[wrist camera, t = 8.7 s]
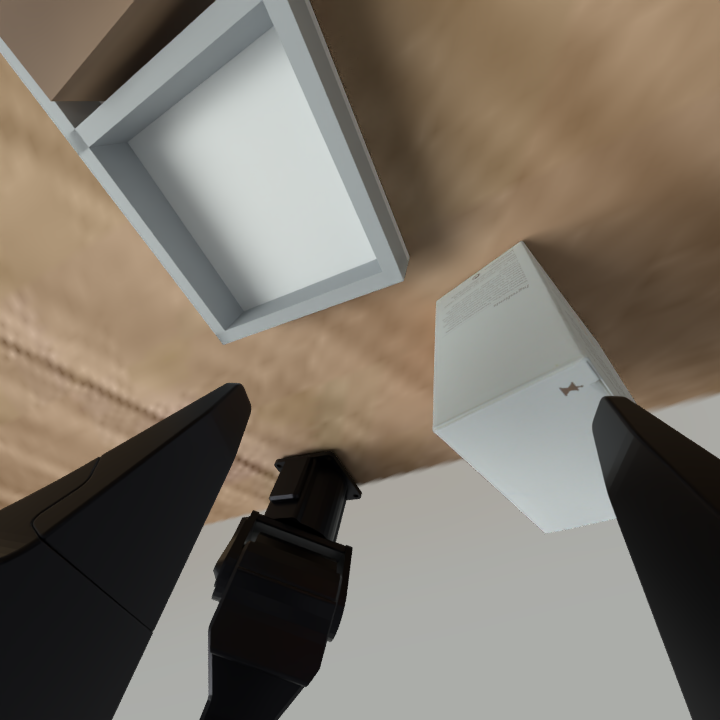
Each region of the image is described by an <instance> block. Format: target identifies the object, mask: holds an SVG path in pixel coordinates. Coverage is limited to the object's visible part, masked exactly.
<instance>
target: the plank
mask: <svg viewBox="0 0 720 720" xmlns="http://www.w3.org/2000/svg"><path fill="white" fill-rule="evenodd" d="M215 1H216V0H0V37H1V39H2V40H3V41H4V42H5V44H6V45H7V46H8V48H9V49H10V50H11V51H12V53H13V54H14V55H15V56H16V58H17V59H18V60H19V61H20V63H21V64H22V65H23V67H24V68H25V69H26V70H27V72H28V73H29V74H30V75H31V77H32V78H33V79H34V81H35V82H36V83H37V84H38V86H39V87H40V88H41V89H42V91H43V92H44V93H45V95H46V96H47V97H48V98H49V100H50V101H106V100H107V99H108V98H109V97H110V96H111V95H113V94H114V93H115V92H116V91H117V90H118V89H119V88H120V87H121V86H122V85H124V84H125V83H126V82H127V81H128V80H129V79H130V78H131V77H132V76H133V75H135V74H136V73H137V72H138V71H139V70H140V69H141V68H142V67H143V66H144V65H146V64H147V63H148V62H149V61H150V60H151V59H152V58H153V57H154V56H155V55H157V54H158V53H159V52H160V51H161V50H162V49H163V48H164V47H165V46H166V45H168V44H169V43H170V42H171V41H172V40H173V39H174V38H175V37H176V36H177V35H179V34H180V33H181V32H182V31H183V30H184V29H185V28H186V27H187V26H188V25H190V24H191V23H192V22H193V21H194V20H195V19H196V18H197V17H198V16H199V15H200V14H202V13H203V12H204V11H205V10H206V9H207V8H208V7H209V6H210V5H211V4H213V3H214V2H215Z"/></svg>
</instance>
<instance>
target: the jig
mask: <svg viewBox="0 0 720 720" xmlns="http://www.w3.org/2000/svg"><path fill="white" fill-rule="evenodd" d="M0 52H1V54H2V55H3V56H4V58H5V59H6V60H7V62H8V63H9V64H10V66H11V67H12V68H13V70H14V71H15V72H16V73H17V75H18V76H19V77H20V79H21V80H22V81H23V83H24V84H25V85H26V87H27V88H28V89H29V91H30V92H31V93H32V94H33V96H34V97H35V98H36V100H37V101H38V102H39V104H40V105H41V106H42V108H43V109H44V110H45V112H46V113H47V114H48V115H49V117H50V118H51V119H52V121H53V122H54V123H55V125H56V126H57V127H58V129H59V130H60V131H61V133H62V134H63V135H64V136H65V138H66V139H67V140H68V142H69V143H70V144H71V146H72V147H73V148H74V150H75V151H76V152H77V153H78V155H79V156H80V157H81V159H82V160H83V161H84V163H85V164H86V165H87V167H88V168H89V169H90V171H91V172H92V173H93V174H94V176H95V177H96V178H97V180H98V181H99V182H100V184H101V185H102V186H103V188H104V189H105V190H106V192H107V193H108V194H109V195H110V197H111V198H112V199H113V201H114V202H115V203H116V205H117V206H118V207H119V209H120V210H121V211H122V213H123V214H124V215H125V216H126V218H127V219H128V220H129V222H130V223H131V224H132V226H133V227H134V228H135V230H136V231H137V232H138V233H139V235H140V236H141V237H142V239H143V240H144V241H145V243H146V244H147V245H148V247H149V248H150V249H151V251H152V252H153V253H154V254H155V256H156V257H157V258H158V260H159V261H160V262H161V264H162V265H163V266H164V268H165V269H166V270H167V272H168V273H169V274H170V275H171V277H172V278H173V279H174V281H175V282H176V283H177V285H178V286H179V287H180V289H181V290H182V291H183V293H184V294H185V295H186V296H187V298H188V299H189V300H190V302H191V303H192V304H193V306H194V307H195V308H196V310H197V311H198V312H199V314H200V315H201V316H202V317H203V319H204V320H205V321H206V323H207V324H208V325H209V327H210V328H211V329H212V331H213V332H214V333H215V334H216V336H217V337H218V338H219V340H220V341H221V342H222V344H223V345H224V344H227V343H230V342H233V341H235V340H238V339H241V338H244V337H247V336H250V335H252V334H255V333H258V332H261V331H264V330H266V329H269V328H272V327H275V326H278V325H281V324H283V323H286V322H289V321H292V320H295V319H298V318H300V317H303V316H306V315H309V314H312V313H314V312H317V311H320V310H323V309H326V308H329V307H331V306H334V305H337V304H340V303H343V302H345V301H348V300H351V299H354V298H357V297H360V296H362V295H365V294H368V293H371V292H374V291H377V290H379V289H382V288H385V287H388V286H391V285H393V284H396V283H399V282H402V281H404V278H405V274H406V270H407V266H408V262H409V258H410V256H409V254H408V251H407V249H406V246H405V244H404V241H403V239H402V236H401V233H400V231H399V228H398V226H397V223H396V221H395V218H394V216H393V213H392V210H391V208H390V205H389V203H388V200H387V198H386V195H385V193H384V190H383V187H382V185H381V182H380V180H379V177H378V175H377V172H376V170H375V167H374V164H373V162H372V159H371V157H370V154H369V152H368V149H367V147H366V144H365V141H364V139H363V136H362V134H361V131H360V129H359V126H358V124H357V121H356V118H355V116H354V113H353V111H352V108H351V106H350V103H349V101H348V98H347V96H346V93H345V90H344V88H343V85H342V83H341V80H340V78H339V75H338V73H337V70H336V67H335V65H334V62H333V60H332V57H331V55H330V52H329V50H328V47H327V44H326V42H325V39H324V37H323V34H322V32H321V29H320V27H319V24H318V21H317V19H316V16H315V14H314V11H313V9H312V6H311V4H310V1H309V0H216V1H215V2H214V3H213V4H211V5H210V6H209V7H208V8H207V9H206V10H205V11H204V12H203V13H202V14H200V15H199V16H198V17H197V18H196V19H195V20H194V21H193V22H192V23H191V24H190V25H188V26H187V27H186V28H185V29H184V30H183V31H182V32H181V33H180V34H179V35H177V36H176V37H175V38H174V39H173V40H172V41H171V42H170V43H169V44H168V45H166V46H165V47H164V48H163V49H162V50H161V51H160V52H159V53H158V54H157V55H155V56H154V57H153V58H152V59H151V60H150V61H149V62H148V63H147V64H146V65H144V66H143V67H142V68H141V69H140V70H139V71H138V72H137V73H136V74H135V75H133V76H132V77H131V78H130V79H129V80H128V81H127V82H126V83H125V84H124V85H122V86H121V87H120V88H119V89H118V90H117V91H116V92H115V93H114V94H113V95H111V96H110V97H109V98H108V99H107V100H106V101H50V100H49V98H48V97H47V96H46V95H45V93H44V92H43V91H42V89H41V88H40V87H39V86H38V84H37V83H36V82H35V81H34V79H33V78H32V77H31V75H30V74H29V73H28V72H27V70H26V69H25V68H24V67H23V65H22V64H21V63H20V61H19V60H18V59H17V58H16V56H15V55H14V54H13V53H12V51H11V50H10V49H9V48H8V46H7V45H6V44H5V42H4V41H3V40H2V39H1V37H0Z"/></svg>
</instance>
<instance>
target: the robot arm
mask: <svg viewBox="0 0 720 720" xmlns="http://www.w3.org/2000/svg"><path fill="white" fill-rule="evenodd" d="M250 414H251V404H250V401H249V399H248V396H247V394H246V391H245V389H244V387H243V385H242V384H240V383H226V384H224V385H223V386H221V387H219V388H217V389H216V390H214V391H212V392H210V393H209V394H207V395H205V396H204V397H202V398H200V399H198V400H197V401H195V402H193V403H191V404H190V405H188V406H186V407H184V408H183V409H181V410H179V411H178V412H176V413H174V414H172V415H171V416H169V417H167V418H165V419H164V420H162V421H160V422H158V423H157V424H155V425H153V426H152V427H150V428H148V429H146V430H145V431H143V432H141V433H139V434H138V435H136V436H134V437H132V438H131V439H129V440H127V441H126V442H124V443H122V444H120V445H119V446H117V447H115V448H113V449H112V450H110V451H108V452H106V453H105V454H103V455H102V456H101V457H98V458H96V459H94V460H92V461H91V462H89V463H87V464H86V465H84V466H82V467H80V468H78V469H77V470H75V471H73V472H71V473H70V474H68V475H66V476H64V477H62V478H61V479H59V480H57V481H55V482H53V483H51V484H49V485H47V486H46V487H44V488H42V489H40V490H38V491H36V492H34V493H32V494H30V495H28V496H26V497H25V498H23V499H21V500H19V501H17V502H15V503H13V504H11V505H9V506H7V507H5V508H3V509H1V510H0V720H112V719H113V716H114V714H115V712H116V710H117V708H118V706H119V704H120V702H121V699H122V697H123V695H124V693H125V691H126V688H127V687H128V685H129V682H130V680H131V678H132V676H133V674H134V672H135V670H136V668H137V665H138V663H139V661H140V659H141V657H142V655H143V653H144V651H145V649H146V646H147V644H148V642H149V640H150V638H151V636H152V634H153V633H152V631H153V630H154V629H155V627H156V625H157V623H158V620H159V618H160V616H161V614H162V612H163V610H164V608H165V606H166V604H167V601H168V599H169V597H170V595H171V593H172V591H173V589H174V587H175V585H176V582H177V580H178V578H179V576H180V574H181V572H182V569H183V568H184V565H185V563H186V561H187V559H188V557H189V555H190V553H191V551H192V548H193V546H194V544H195V542H196V540H197V538H198V536H199V534H200V532H201V529H202V527H203V525H204V523H205V521H206V519H207V517H208V515H209V512H210V510H211V508H212V506H213V504H214V502H215V500H216V498H217V495H218V493H219V491H220V489H221V487H222V485H223V483H224V481H225V479H226V476H227V474H228V472H229V470H230V468H231V466H232V463H233V461H234V459H235V456H236V454H237V451H238V448H239V445H240V442H241V439H242V437H243V434H244V431H245V428H246V425H247V422H248V419H249V417H250ZM592 433H593V437H594V441H595V445H596V449H597V454H598V458H599V462H600V466H601V470H602V474H603V478H604V483H605V486H606V490H607V494H608V497H609V499H610V502H611V505H612V508H613V510H614V513H615V516H616V518H617V521H618V524H619V526H620V529H621V532H622V534H623V537H624V539H625V542H626V545H627V548H628V550H629V553H630V556H631V558H632V561H633V563H634V566H635V569H636V571H637V574H638V577H639V579H640V582H641V585H642V587H643V590H644V593H645V595H646V598H647V601H648V603H649V606H650V609H651V611H652V614H653V616H654V619H655V622H656V625H657V627H658V630H659V632H660V635H661V638H662V640H663V643H664V646H665V648H666V651H667V654H668V656H669V659H670V662H671V664H672V667H673V670H674V672H675V675H676V678H677V680H678V683H679V686H680V688H681V691H682V693H683V696H684V699H685V701H686V704H687V707H688V709H689V712H690V715H691V717H692V720H720V459H719V458H717V457H716V456H714V455H713V454H711V453H710V452H708V451H707V450H705V449H704V448H702V447H701V446H699V445H697V444H696V443H695V442H693V441H692V440H690V439H688V438H687V437H685V436H684V435H682V434H681V433H679V432H678V431H676V430H675V429H673V428H672V427H670V426H669V425H667V424H666V423H664V422H663V421H661V420H660V419H658V418H657V417H655V416H654V415H652V414H651V413H649V412H648V411H646V410H645V409H643V408H642V407H640V406H639V405H637V404H636V403H634V402H633V401H631V400H630V399H628V398H626V397H623V396H604V397H602V398H601V400H600V402H599V405H598V408H597V410H596V413H595V416H594V419H593V422H592ZM274 466H275V467H276V468H277V469H278V471H279V472H280V474H279V476H278V479H277V481H276V483H275V485H274V488H273V490H272V492H271V494H270V497H269V500H270V503H269V506H268V508H267V510H266V512H265V515H262V514H259V512H257V511H254V510H253V511H252V513H251V515H250V516H249V517H243V518H242V520H241V522H240V524H239V526H238V528H237V530H236V532H235V534H234V536H233V537H232V539H231V541H230V542H229V544H228V545H227V547H226V549H225V550H224V552H223V554H222V555H221V557H220V558H219V560H218V561H217V563H216V565H215V568H214V570H213V571H214V574H215V578H216V581H215V584H214V587H215V589H214V592H213V595H212V599H213V600H216V601H218V602H219V604H218V607H217V609H216V611H215V613H214V616H213V618H212V620H211V623H210V625H209V630H208V669H209V671H208V674H209V675H208V676H209V677H208V678H209V679H208V680H209V681H208V683H209V696H208V700H207V703H206V705H205V707H204V710H203V712H202V715H201V718H200V720H278V719H279V718H280V716H281V715H282V714H283V712H284V711H285V710H286V709H287V708H288V707H289V705H290V704H291V703H292V702H293V700H294V699H295V698H296V697H297V695H298V694H299V693H300V692H301V690H302V689H303V688H304V687H307V686H308V685H309V683H310V682H311V681H312V679H313V678H314V676H315V675H316V674H317V672H318V670H319V669H320V666H321V662H322V658H323V654H324V650H325V647H326V643H327V641H329V642H331V641H332V640H333V639H334V637H335V635H336V632H337V630H338V627H339V624H340V621H341V618H342V615H343V611H344V607H345V602H346V596H347V589H348V581H349V571H350V564H351V555H352V547H351V546H348V545H346V546H344V545H342V544H339V543H336V539H337V535H338V531H339V527H340V523H341V519H342V515H343V512H344V508H345V504H346V500H353V499H360V498H361V494H362V492H361V491H360V489H359V488H358V486H357V485H356V484H355V482H354V481H353V479H352V478H351V476H350V475H349V474H348V472H347V471H346V469H345V468H344V466H343V465H342V464H341V462H340V461H339V459H338V458H337V457H336V455H335V454H334V453H333V452H330V451H327V452H321V453H314V454H308V455H302V456H296V457H289V458H283V459H278V460H276V462H275V464H274Z"/></svg>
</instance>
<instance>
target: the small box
mask: <svg viewBox="0 0 720 720" xmlns="http://www.w3.org/2000/svg"><path fill="white" fill-rule="evenodd" d="M434 365H435V366H434V401H433V432H434V433H435V434H436V435H437V436H438V437H440V438H441V439H442V440H443V441H444V442H445V443H446V444H447V445H448V446H449V447H451V448H452V449H453V450H454V451H455V452H456V453H457V454H458V455H459V456H460V457H461V458H462V459H464V460H465V461H466V462H467V463H468V464H469V465H470V466H471V467H473V468H474V469H475V470H476V471H477V472H478V473H479V474H481V476H483V477H484V478H485V479H486V480H487V481H488V482H489V483H490V484H491V485H492V486H494V487H495V488H496V489H497V490H498V491H499V492H500V493H501V494H502V495H503V496H505V497H506V498H507V499H508V500H509V501H510V502H511V503H512V504H513V505H514V506H515V507H517V508H518V509H519V510H520V511H521V512H522V513H523V514H524V515H525V516H526V517H527V518H528V519H530V520H531V521H532V522H533V523H534V524H535V525H536V526H537V527H538V528H539V529H541V530H542V531H543V532H544V533H552V532H557V531H563V530H567V529H572V528H576V527H581V526H585V525H589V524H594V523H598V522H603V521H608V520H612V519H617V518H616V516H615V513H614V510H613V508H612V505H611V502H610V499H609V497H608V494H607V490H606V486H605V483H604V478H603V474H602V470H601V466H600V462H599V458H598V454H597V449H596V445H595V441H594V437H593V433H592V422H593V419H594V416H595V413H596V410H597V408H598V405H599V402H600V400H601V398H602V397H604V396H623V397H626V398H628V399H630V400H631V401H633V402H634V403H636V402H635V401H634V399H633V398H632V396H631V394H630V393H629V391H628V390H627V388H626V386H625V385H624V383H623V382H622V380H621V379H620V377H619V375H618V374H617V372H616V371H615V369H614V367H613V366H612V364H611V362H610V361H609V359H608V358H607V356H606V355H605V353H604V351H603V350H602V348H601V347H600V345H599V344H598V342H597V341H596V339H595V338H594V337H593V336H592V334H591V333H590V331H589V330H588V329H587V327H586V326H585V325H584V323H583V322H582V321H581V319H580V318H579V317H578V315H577V314H576V313H575V311H574V310H573V309H572V307H571V306H570V305H569V303H568V302H567V301H566V299H565V298H564V297H563V295H562V294H561V292H560V291H559V290H558V288H557V287H556V286H555V284H554V283H553V281H552V280H551V279H550V277H549V276H548V275H547V273H546V272H545V271H544V269H543V268H542V267H541V265H540V264H539V263H538V261H537V260H536V259H535V257H534V256H533V254H532V253H531V252H530V250H529V249H528V248H527V246H526V245H525V243H524V242H523V241H520V242H519V243H517V244H516V245H515V246H513V247H512V248H510V249H509V250H508V251H506V252H505V253H503V254H502V255H501V256H499V257H498V258H496V259H495V260H493V261H492V262H491V263H489V264H488V265H486V266H485V267H484V268H482V269H481V270H479V271H478V272H477V273H475V274H474V275H472V276H471V277H470V278H468V279H467V280H465V281H464V282H463V283H461V284H460V285H458V286H457V287H456V288H454V289H453V290H451V291H450V292H448V293H447V294H446V295H444V296H443V297H442V298H440V299H439V300H437V302H436V328H435V361H434Z"/></svg>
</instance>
